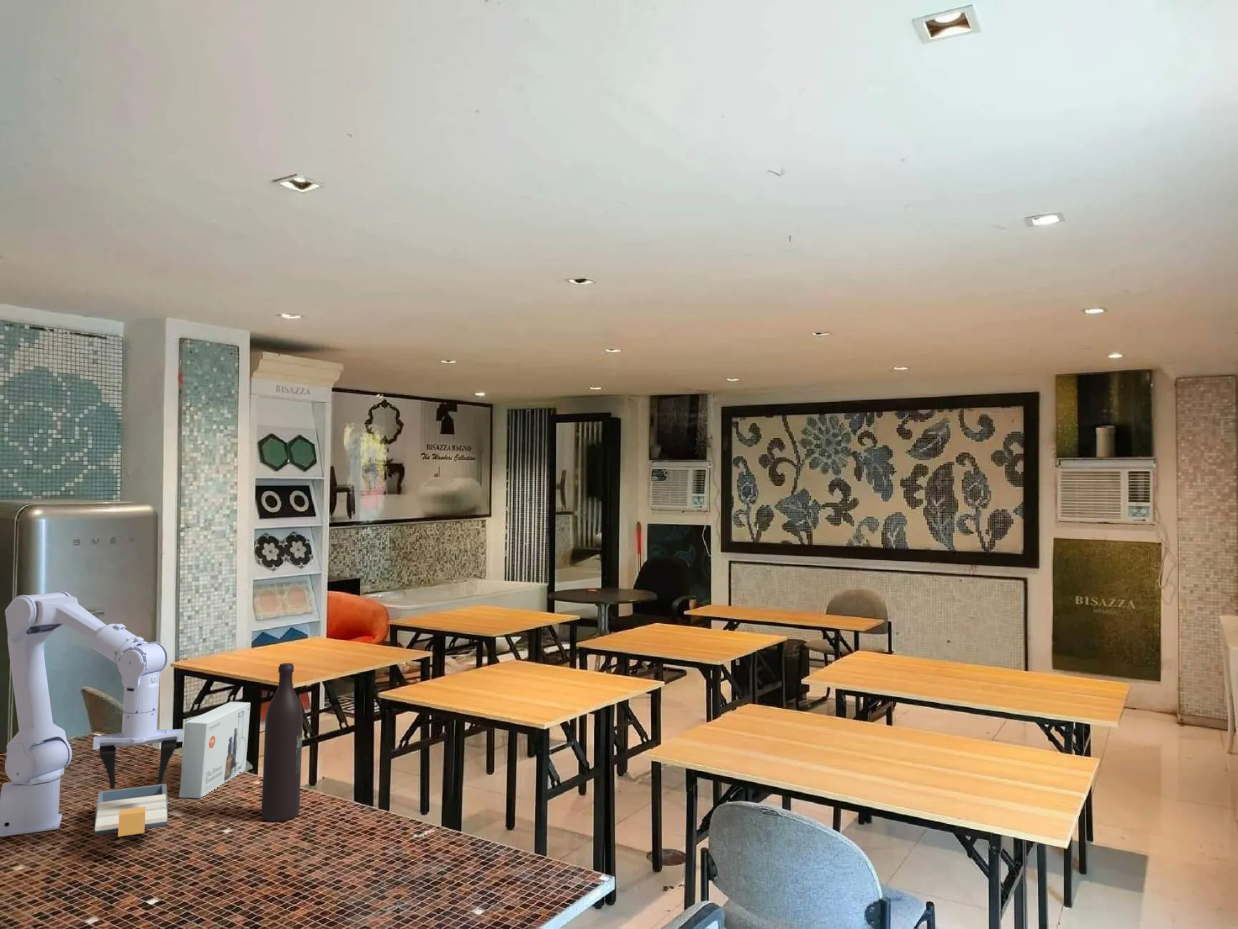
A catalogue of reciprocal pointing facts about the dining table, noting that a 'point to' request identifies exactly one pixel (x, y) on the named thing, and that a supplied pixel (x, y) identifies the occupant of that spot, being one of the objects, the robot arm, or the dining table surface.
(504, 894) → the dining table surface
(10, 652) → the robot arm
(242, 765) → the skincare box
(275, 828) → the dining table surface
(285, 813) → the wine bottle
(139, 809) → the lid
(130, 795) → the tub
